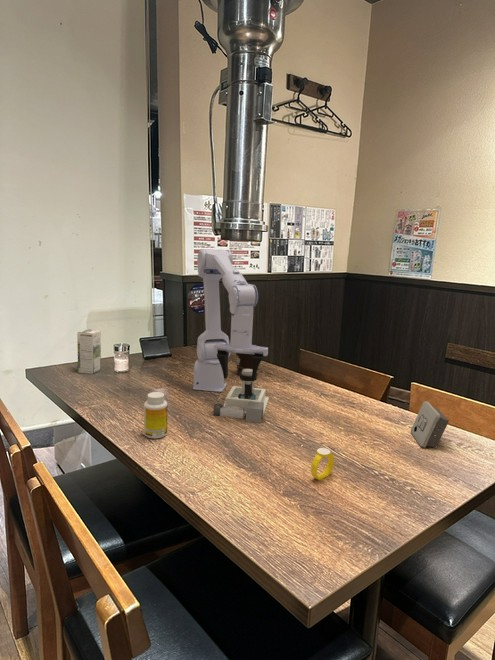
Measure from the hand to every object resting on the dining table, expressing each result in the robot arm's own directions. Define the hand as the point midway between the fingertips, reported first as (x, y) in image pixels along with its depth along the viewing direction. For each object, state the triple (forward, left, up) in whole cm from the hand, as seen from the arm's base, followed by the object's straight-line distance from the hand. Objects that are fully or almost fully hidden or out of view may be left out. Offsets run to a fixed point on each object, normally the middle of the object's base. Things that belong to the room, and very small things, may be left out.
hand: (239, 378), depth 118 cm
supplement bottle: (-17, -18, -10) cm, 27 cm away
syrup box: (-57, +23, -10) cm, 62 cm away
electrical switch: (+49, -4, -10) cm, 50 cm away
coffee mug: (-4, +38, -10) cm, 40 cm away
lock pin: (-2, -2, -10) cm, 11 cm away
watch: (+23, -28, -10) cm, 38 cm away
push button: (+2, +8, -10) cm, 13 cm away
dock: (+1, +5, -10) cm, 11 cm away
